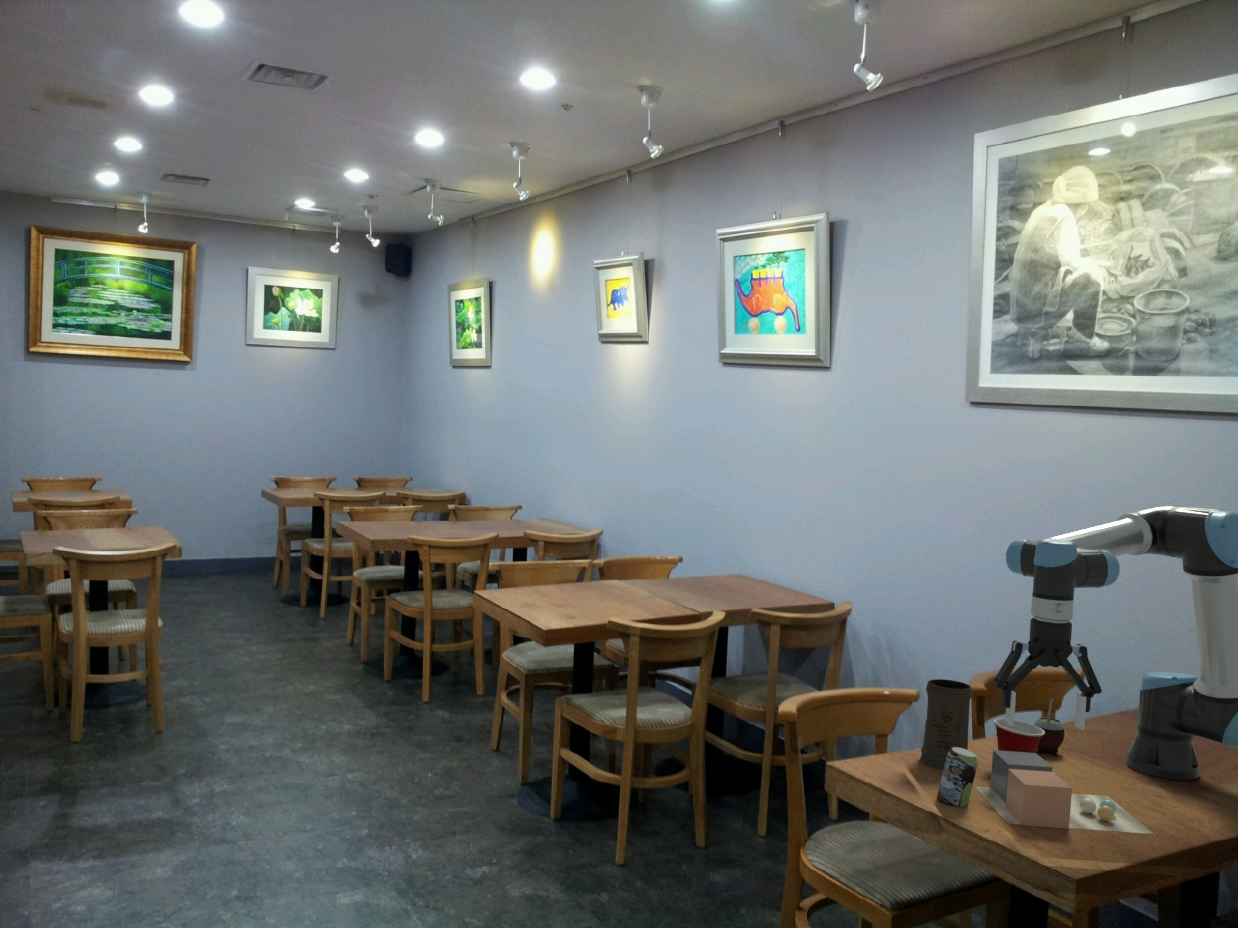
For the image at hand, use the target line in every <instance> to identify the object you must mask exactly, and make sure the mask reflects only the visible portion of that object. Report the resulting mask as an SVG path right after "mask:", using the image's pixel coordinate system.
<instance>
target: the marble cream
mask: <svg viewBox="0 0 1238 928" xmlns="http://www.w3.org/2000/svg"><path fill="white" fill-rule="evenodd" d="M1080 808H1081V810H1082V811H1083V812H1085V813H1087V814H1091V813H1093V812H1094V811H1095V810H1096V804H1095V802H1094V801H1093V800H1092V799H1090V798H1084V799H1082V800H1081V802H1080Z"/></svg>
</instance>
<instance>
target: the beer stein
mask: <svg viewBox="0 0 1238 928" xmlns="http://www.w3.org/2000/svg"><path fill="white" fill-rule="evenodd" d="M925 691H926V695H927V696H926V697H927V707H926V719H925V724H924V734H923V735H924V737H923V742H922V747H921V750H920V752H921V755H920V758H919V761H920V762H921V763H922V765H925V766H927V767H929V768H931V769H932V768H933V769H935V770H936V769H937V770H942V771H943V770H944V766H945V762H946V758H947V754H948V752H949V751H950V750H952V748H953V747H959V748H964V749H967V750H969V749H968V748H969V745H968V744H969V721H970V707H971V706H970V704H971V699H972V698H973V692H972V691H973V689H972V686H971V685H970V684H968V683H966V682H963V681H959V680H952V679H944V678H943V679H941V678H940V679H938V678H937V679H934V678H933V679H930V680H928V681H927V684H926V687H925Z"/></svg>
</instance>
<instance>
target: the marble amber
mask: <svg viewBox="0 0 1238 928" xmlns="http://www.w3.org/2000/svg"><path fill="white" fill-rule="evenodd" d="M1098 816H1099V818H1100V819H1102V820H1103V821H1111V820H1112V819H1113V818H1114V811H1113V809H1112V808H1111V807H1109V806H1106V805H1104V806H1101V807H1099V809H1098Z"/></svg>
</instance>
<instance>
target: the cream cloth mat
mask: <svg viewBox="0 0 1238 928" xmlns="http://www.w3.org/2000/svg"><path fill="white" fill-rule="evenodd" d="M974 788H975V789H976V790H977V791H978V792H979V794H980V795H981V796H982V797H983V798H984V799H985V800H986V802H988V804H990V805H991V807H992V808H993V809H994V810H995V812H996V813H998V815H999V816H1001V818H1002V820H1003V821H1004V822H1006V824H1008V825H1020V826H1022V825H1021V824H1020V823H1019V822H1018V821H1017V820H1016V819H1015V818H1014V816H1013V815H1012V814H1011V813H1010V812H1009V811H1008V810H1007V809H1006V803H1005V802H1004V801H1003V800H1002V799H1001V798H1000V797H999V795H998V794H997V793H996V792H995V791H994V790H993V789H992V788H991V787H986V786H985V787H984V786H974ZM1084 798H1090V799H1092V800H1093V801H1094V802H1095V804H1096V810H1095V811H1094V812H1093V813H1091V814H1087V813H1085V812H1083V811H1082V810H1081V808H1080V802H1081V800H1082V799H1084ZM1106 799H1108V800H1111V801H1113V802H1114V803H1115V805H1116V811H1115V813H1114V818H1113V819H1112V820H1111V821H1103V820H1102V819H1100V818H1099V816H1098V809H1099V807H1100V803H1101V802H1102V801H1103V800H1106ZM1069 829H1078V830H1088V831H1089V830H1090V831H1091V830H1093V831H1103V832H1104V831H1107V832H1118V833H1133V834H1146V835H1155V833H1154V832H1153V831H1151V830H1150V828H1148V827H1146V826H1145V825H1144V824H1142V823H1141V822H1140V821H1139V820H1138V819H1136V818H1135V817H1134V816H1133V815H1132V814H1130V813H1129V812H1128V811H1126V810H1125V809H1124V808H1123V807H1122V806H1120V805H1119V804H1118V803H1117V802H1116V801H1114V800H1113V799H1112V798H1110V797H1109V796H1108V795H1100V794H1099V795H1097V794H1096V795H1095V794H1085V793H1081V794H1080V793H1072V796H1071V809H1070V822H1069Z"/></svg>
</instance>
